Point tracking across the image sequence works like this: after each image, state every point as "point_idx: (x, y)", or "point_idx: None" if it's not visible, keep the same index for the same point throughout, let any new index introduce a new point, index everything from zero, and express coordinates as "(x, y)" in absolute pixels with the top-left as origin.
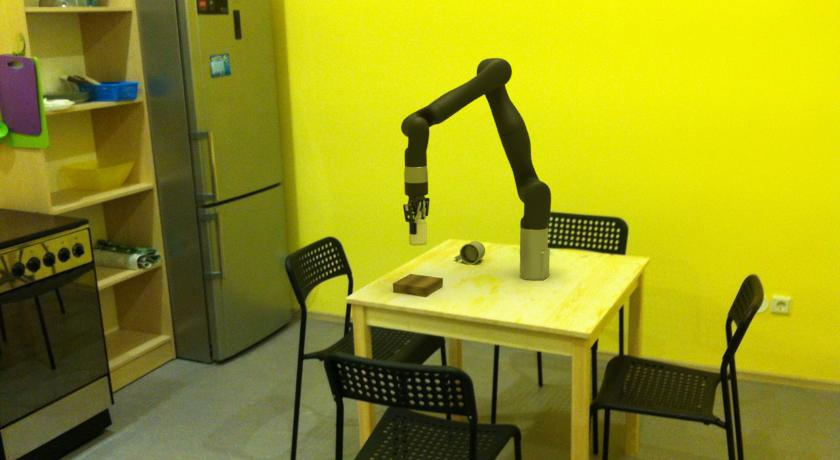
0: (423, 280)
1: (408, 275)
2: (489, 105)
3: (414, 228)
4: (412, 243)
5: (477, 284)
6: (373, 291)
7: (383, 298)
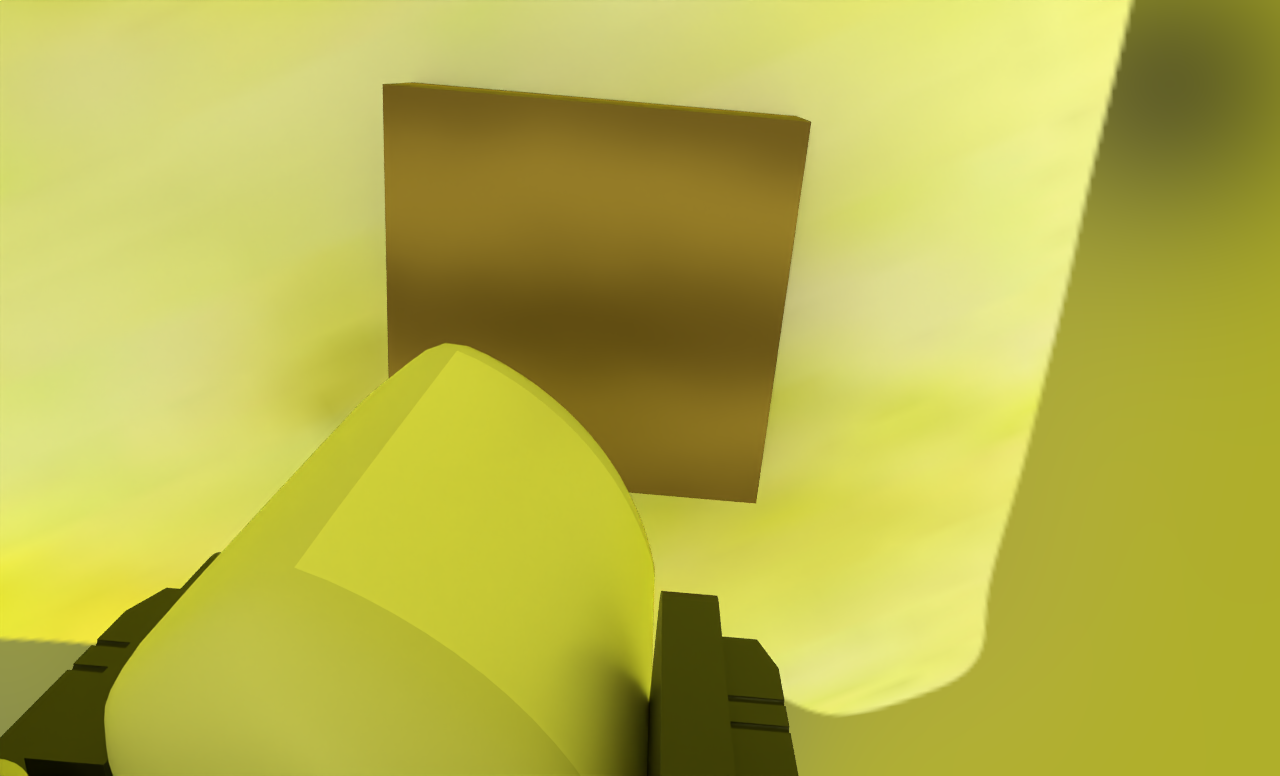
0: (557, 258)
1: None
2: None
3: (728, 722)
4: (647, 558)
5: None
6: (770, 616)
7: (934, 472)
